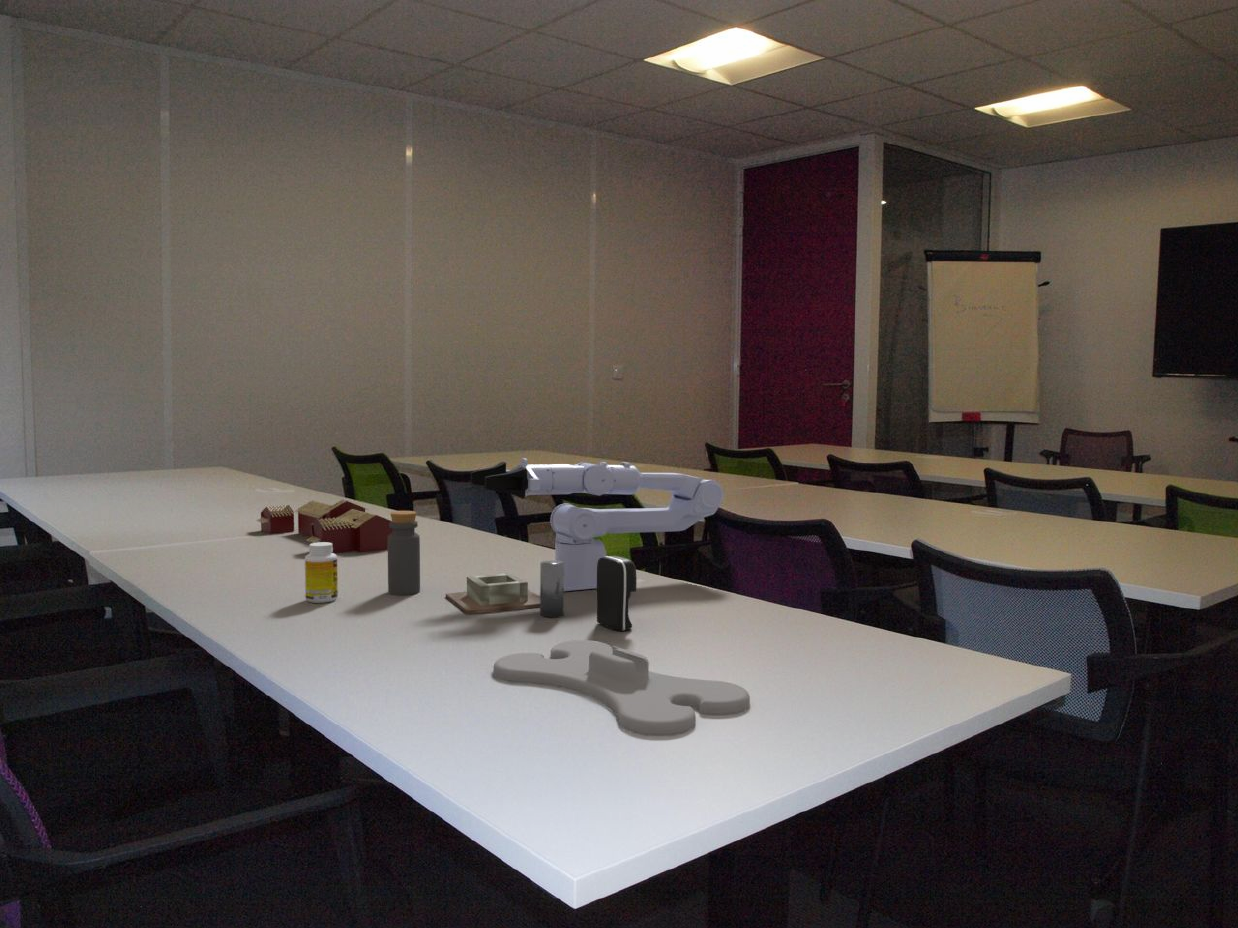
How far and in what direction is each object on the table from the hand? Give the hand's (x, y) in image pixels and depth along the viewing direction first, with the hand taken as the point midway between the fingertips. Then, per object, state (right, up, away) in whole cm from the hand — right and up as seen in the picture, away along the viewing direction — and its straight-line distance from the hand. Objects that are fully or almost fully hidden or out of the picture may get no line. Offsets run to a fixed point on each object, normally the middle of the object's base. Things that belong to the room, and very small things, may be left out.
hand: (477, 480), depth 172 cm
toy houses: (-47, -16, +61) cm, 79 cm away
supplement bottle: (-28, -22, -3) cm, 35 cm away
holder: (+25, -27, -48) cm, 60 cm away
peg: (+14, -23, -11) cm, 29 cm away
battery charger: (+25, -24, -18) cm, 39 cm away
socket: (+4, -22, -2) cm, 22 cm away
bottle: (-14, -21, +5) cm, 26 cm away
